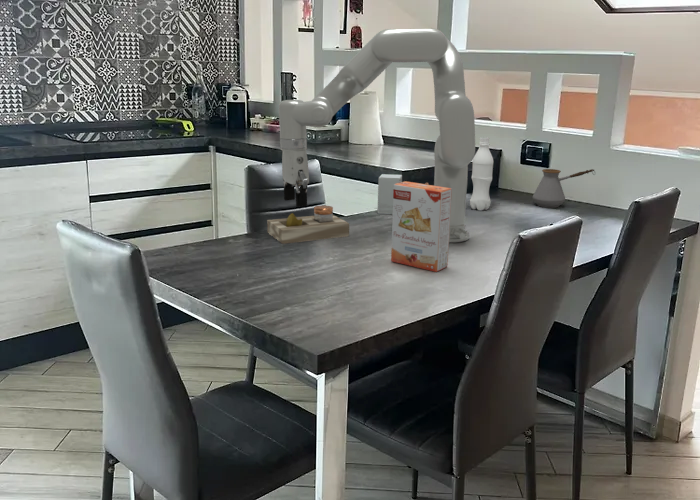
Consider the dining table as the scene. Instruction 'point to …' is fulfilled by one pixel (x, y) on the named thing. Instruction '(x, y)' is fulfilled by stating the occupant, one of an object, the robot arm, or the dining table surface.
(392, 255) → the cracker box
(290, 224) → the knob
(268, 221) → the mount
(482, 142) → the water bottle
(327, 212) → the plunger
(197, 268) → the dining table surface
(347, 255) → the dining table surface
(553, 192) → the coffee pot
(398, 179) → the supplement box
